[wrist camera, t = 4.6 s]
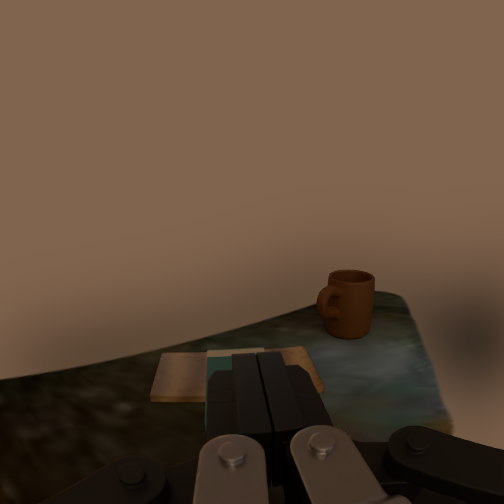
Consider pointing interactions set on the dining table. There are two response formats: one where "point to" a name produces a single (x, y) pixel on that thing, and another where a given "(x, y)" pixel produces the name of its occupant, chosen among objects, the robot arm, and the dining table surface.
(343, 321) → the mug
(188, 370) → the cork mat
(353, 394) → the dining table surface
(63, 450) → the dining table surface
